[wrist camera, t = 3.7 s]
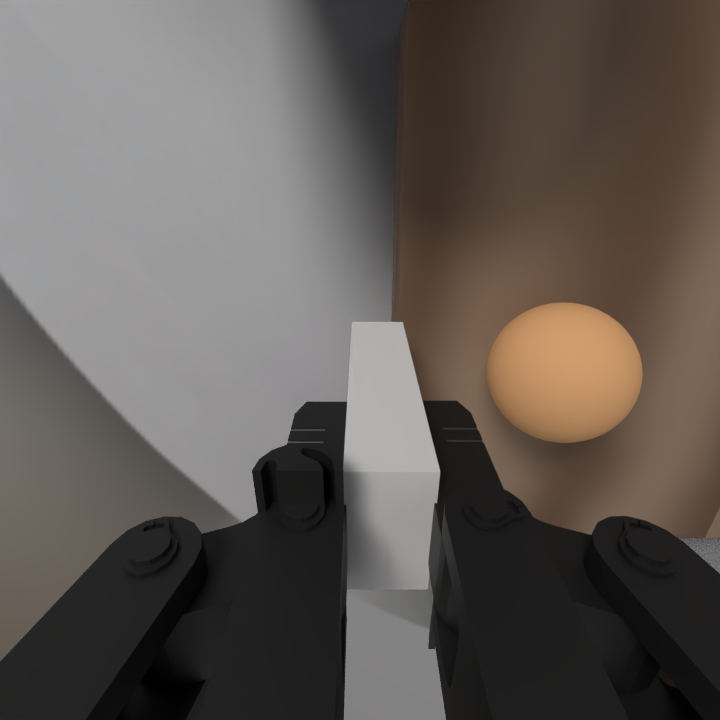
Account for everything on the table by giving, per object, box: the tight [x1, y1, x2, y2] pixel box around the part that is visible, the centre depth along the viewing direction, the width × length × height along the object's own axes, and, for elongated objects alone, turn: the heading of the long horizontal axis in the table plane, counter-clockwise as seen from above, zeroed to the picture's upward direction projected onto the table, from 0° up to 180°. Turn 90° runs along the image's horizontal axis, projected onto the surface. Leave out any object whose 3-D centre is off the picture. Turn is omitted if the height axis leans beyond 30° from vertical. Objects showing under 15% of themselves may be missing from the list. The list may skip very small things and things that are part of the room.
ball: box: [487, 302, 643, 443], centre depth 12 cm, size 4×4×4 cm
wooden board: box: [392, 0, 720, 538], centre depth 15 cm, size 23×18×3 cm
